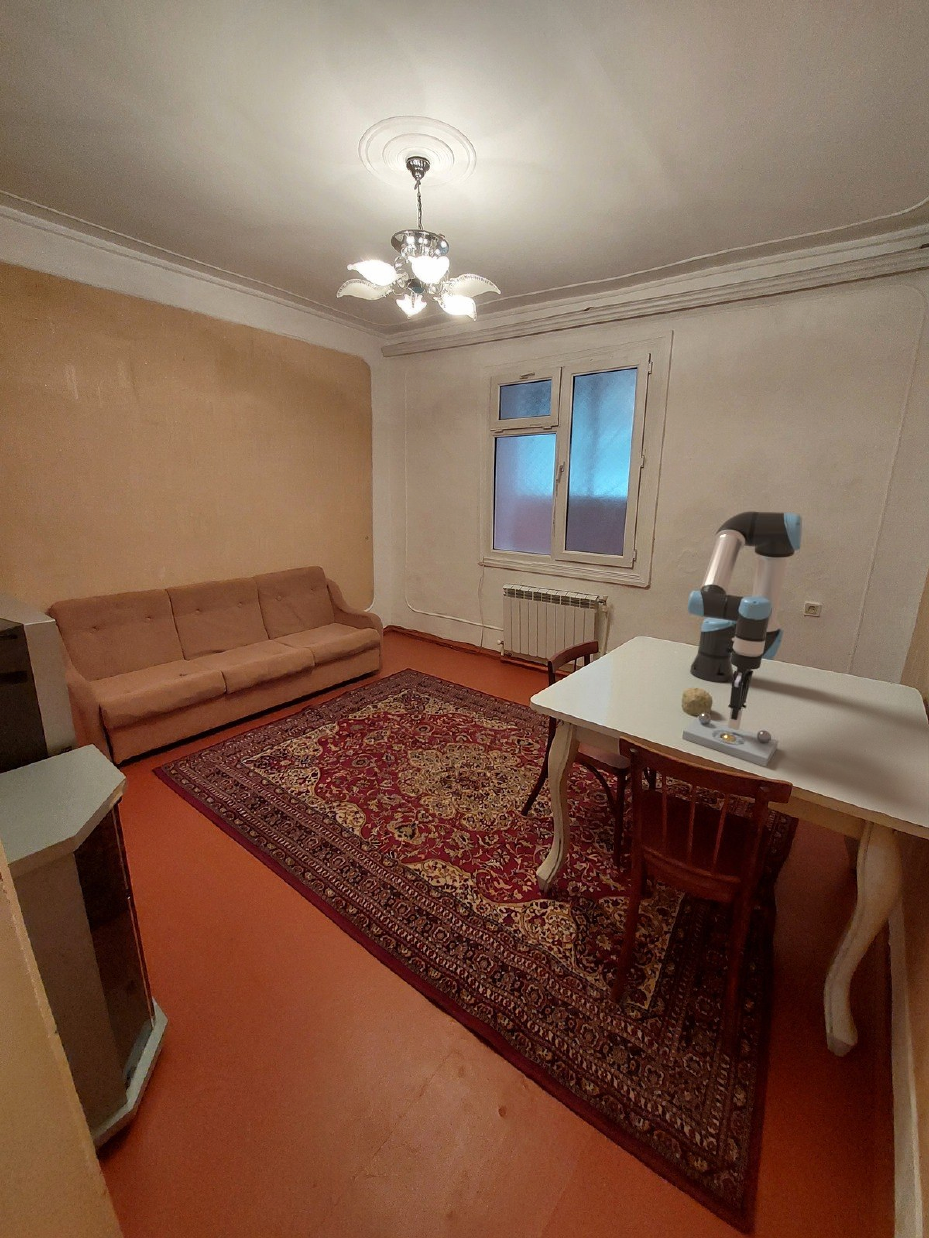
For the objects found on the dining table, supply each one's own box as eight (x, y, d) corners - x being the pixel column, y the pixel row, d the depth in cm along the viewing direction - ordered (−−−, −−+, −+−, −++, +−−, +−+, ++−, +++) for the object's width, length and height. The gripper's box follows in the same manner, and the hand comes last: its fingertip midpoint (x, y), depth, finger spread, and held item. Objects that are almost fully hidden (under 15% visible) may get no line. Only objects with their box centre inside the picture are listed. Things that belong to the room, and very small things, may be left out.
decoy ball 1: (700, 719, 156) (701, 709, 155) (711, 723, 153) (713, 713, 152) (696, 723, 153) (697, 713, 152) (708, 727, 151) (709, 716, 150)
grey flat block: (697, 723, 159) (698, 716, 158) (776, 748, 145) (778, 740, 144) (682, 738, 149) (683, 730, 149) (765, 766, 135) (767, 758, 135)
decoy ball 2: (757, 737, 145) (759, 726, 144) (771, 742, 143) (773, 731, 142) (754, 742, 143) (756, 731, 142) (768, 746, 141) (770, 735, 140)
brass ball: (718, 745, 145) (722, 742, 148) (731, 749, 143) (735, 746, 146) (720, 734, 145) (724, 731, 147) (733, 738, 142) (737, 734, 145)
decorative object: (678, 714, 172) (670, 695, 167) (700, 696, 174) (693, 677, 169) (699, 728, 165) (692, 709, 160) (722, 710, 166) (715, 690, 161)
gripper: (739, 643, 148) (726, 716, 155) (725, 654, 139) (712, 731, 145) (767, 649, 143) (753, 724, 150) (755, 661, 134) (741, 740, 141)
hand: (733, 727), depth 148 cm, fingers closed
